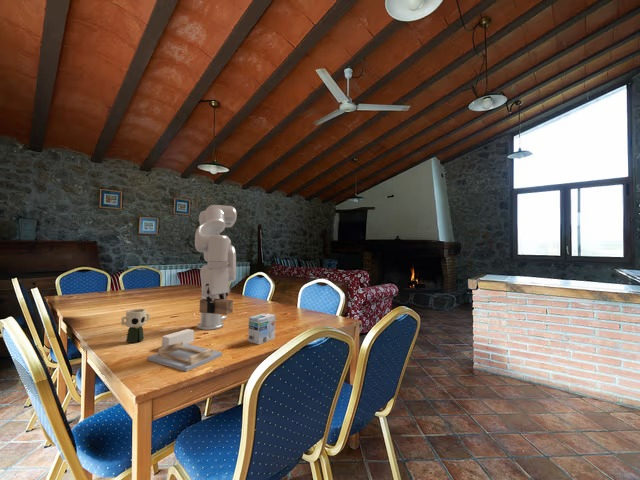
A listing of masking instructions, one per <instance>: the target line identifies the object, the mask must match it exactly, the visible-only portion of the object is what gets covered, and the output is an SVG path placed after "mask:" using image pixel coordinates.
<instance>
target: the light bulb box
mask: <svg viewBox="0 0 640 480" xmlns="http://www.w3.org/2000/svg"><path fill="white" fill-rule="evenodd" d="M247 337H248V340H247V341H248V343H252V344H257V345H262V344H265V343H266V342H269V341H272V340H275V338H276V314H271V313H268V312H267V313H266V312H264V313H260V314H257V315H252V316H249V317H248V335H247Z"/></svg>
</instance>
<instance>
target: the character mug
mask: <svg viewBox="0 0 640 480" xmlns="http://www.w3.org/2000/svg"><path fill="white" fill-rule="evenodd" d="M150 315H151V314H150V312H147V310H146V309H145V308H137V309H136V308H135V309H133V308H132V309H128V310H126V313H125V316H123V317H121V321H120V323H121V326H124V325H125V326H126V327H127V328H128V330H127V334H126V339H125V340H126V342H128V343H137V342H142V341H144V339H145V337H144V328H143V326H144V325H145V324H146V322H147V321H150Z"/></svg>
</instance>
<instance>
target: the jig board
mask: <svg viewBox="0 0 640 480" xmlns="http://www.w3.org/2000/svg"><path fill="white" fill-rule="evenodd" d="M183 347H187V348H191V349H196V350H200V351H205V350H208V349H209V348H206V347H201V346H196V345H192V344H190V343H188V344H183ZM168 354H169V355H172V356H176V357H180V358H183V359H187V360H189V357H190V356H193V355H195V354H196V353H192V352H188V351H185V350H181V349H180V350H177V351H174V352H171V353H168ZM222 356H223V352H222V351H219V350H218V351H217V350H214V349H213V355H212V356H211V357H209V358H207V359H204V360H202V361H200V362H197V363H195V364H193V365H189V364H186V363H182V362H178V361H175V360H171V359H168V358H164V357H161V356H158V352H157V353H154V354H151V355H148V356H147V361H150V362H153V363H156V364H160V365H164V366H167V367H170V368H174V369H177V370H180V371H183V372H189V371H191V370H194V369H196V368H198V367H200V366H202V365H205V364H206V363H210V362H211V361H213V360H216V359H218V358H220V357H222Z"/></svg>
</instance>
